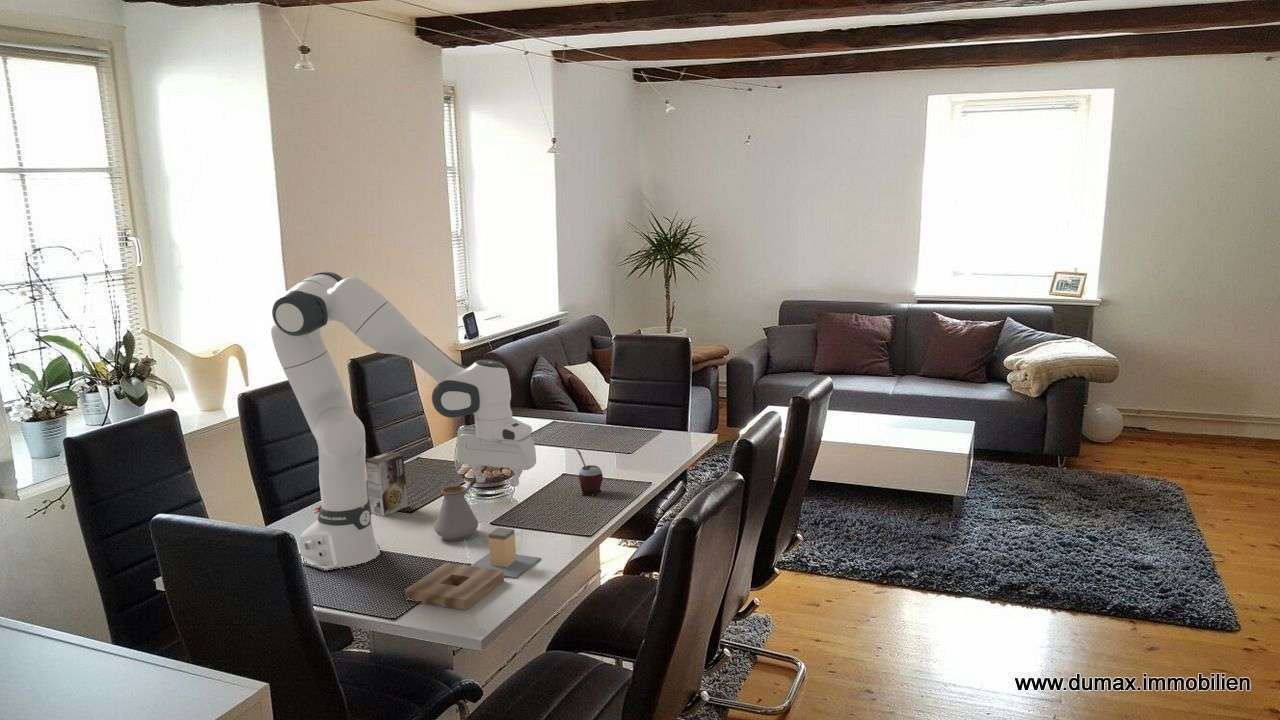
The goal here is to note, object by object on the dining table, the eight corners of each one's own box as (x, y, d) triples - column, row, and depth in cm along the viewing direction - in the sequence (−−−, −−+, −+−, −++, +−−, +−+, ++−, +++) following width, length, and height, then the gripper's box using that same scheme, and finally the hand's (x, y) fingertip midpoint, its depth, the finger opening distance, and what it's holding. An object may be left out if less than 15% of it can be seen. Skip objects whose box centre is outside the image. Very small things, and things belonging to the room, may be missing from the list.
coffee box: (394, 503, 274) (389, 450, 270) (409, 507, 270) (404, 453, 267) (369, 513, 266) (364, 459, 263) (384, 516, 263) (378, 462, 260)
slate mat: (465, 571, 223) (465, 569, 223) (492, 552, 234) (492, 550, 234) (515, 578, 217) (515, 577, 217) (540, 559, 228) (540, 557, 228)
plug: (490, 565, 225) (488, 534, 223) (500, 558, 229) (498, 527, 227) (506, 567, 223) (504, 536, 222) (516, 560, 227) (514, 529, 226)
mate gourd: (607, 494, 274) (605, 445, 272) (584, 499, 270) (581, 450, 268) (595, 487, 281) (593, 440, 278) (572, 493, 277) (569, 444, 274)
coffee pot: (461, 546, 239) (456, 490, 236) (425, 540, 244) (421, 485, 241) (508, 518, 257) (505, 467, 254) (475, 513, 262) (471, 462, 260)
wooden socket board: (405, 600, 208) (404, 589, 208) (446, 572, 223) (445, 562, 222) (465, 610, 202) (464, 599, 202) (504, 581, 216) (503, 570, 216)
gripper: (449, 427, 220) (453, 483, 223) (524, 434, 213) (527, 491, 215) (464, 421, 226) (468, 475, 229) (537, 427, 218) (540, 483, 221)
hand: (497, 483), depth 222 cm, fingers open, 8 cm apart
